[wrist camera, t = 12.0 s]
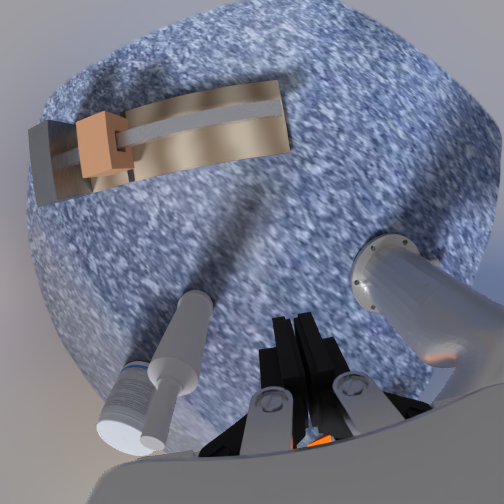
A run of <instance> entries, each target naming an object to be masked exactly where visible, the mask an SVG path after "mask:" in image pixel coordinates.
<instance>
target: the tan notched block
mask: <svg viewBox="0 0 504 504" xmlns="http://www.w3.org/2000/svg"><path fill="white" fill-rule="evenodd" d="M76 128H77V138H78V147H79V155H80V163H81V170H82V176H83V178H89V177H100V176H109V175H113V174H116V173H120V172H123V171H127V170H131V169H134V168H135V167H134V161H133V154H132V148H131V147H129V148H126V149H122V150H120V151H117V146H116V139H115V134H117V133H120V132H123V131H126V130H129V125H128V119H126V118H123V117H120V116H118V115H115V114H112V113H110V112H107V111H102V112H100V113H97V114H95V115H92V116H89V117H87V118H85V119H82V120H80V121H77V122H76Z"/></svg>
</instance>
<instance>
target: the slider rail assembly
mask: <svg viewBox="0 0 504 504" xmlns="http://www.w3.org/2000/svg"><path fill="white" fill-rule="evenodd" d="M282 115H283V112H282V106H281V100H280V99H277V100H268V101H260V102H252V103H245V104H238V105H232V106H226V107H220V108H215V109H209V110H204V111H199V112H195V113H190V114H186V115H181V116H177V117H173V118H169V119H165V120H161V121H157V122H153V123H150V124H146V125H143V126H139V127H136V128H132V129H129V130H126V131H123V132H120V133H117V134H115V139H116V146H117V151H120V150H122V149H126V148H129V147H132V146H136V145H139V144H143V143H147V142H150V141H154V140H158V139H162V138H166V137H170V136H174V135H179V134H183V133H188V132H192V131H197V130H202V129H207V128H212V127H218V126H223V125H229V124H235V123H242V122H248V121H255V120H263V119H271V118H280V117H282ZM28 133H29V134H28V135H29V149H30V159H31V168H32V176H33V183H34V189H35V195H36V201H37V206H38V207H42V206H45V205H49V204H53V203H57V202H61V201H66V200H70V199H74V198H79V197H82V196H85V195H88V194H91V193H93V189H92V183H91V177H89V178H83V176H82V170H81V163H80V155H79V147H78V138H77V128H76V125H74V124H69V123H64V122H59V121H53V120H46V121H44V122H42V123H40V124H38V125H36V126H34V127H33V128H31V129H29V130H28ZM94 193H95V192H94Z"/></svg>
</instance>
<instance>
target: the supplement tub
mask: <svg viewBox="0 0 504 504" xmlns="http://www.w3.org/2000/svg"><path fill="white" fill-rule="evenodd" d="M149 364H150V363H147V362H142V361H135V362H131V363H128V364H127V365H125V366H124V368H123V369H122V371H121V373H120V375H119V377H118V379H117V381H116V383H115V385H114V387H113V389H112V391H111V393H110V395H109V397H108V399H107V401H106V403H105V405H104V407H103V409H102V411H101V414H100V416H99V419H98V423H97V427H96V428H97V432H98V434H99V435H100V436H101V438H102V439H103V440H104V441H105V442H107V443H108V444H109V445H110V446H112V447H114V448H115V449H117V450H120V451H122V452H124V453H127V454H131V455H137V456H144V455H149V454H151V453H152V452H153V451H154V450H152V449H149V448H147V447H145V446H143V445H142V444H141V442H140V437H141V434H142V431H143V428H144V425H145V422H146V421H147V418H148V415H149V412H150V409H151V406H152V404H153V401H154V398H155V395H156V392H157V389H156V387H155V386H154V385H153V383H152V382H151V381H150V379H149V377H148V372H147V370H148V367H149Z"/></svg>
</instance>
